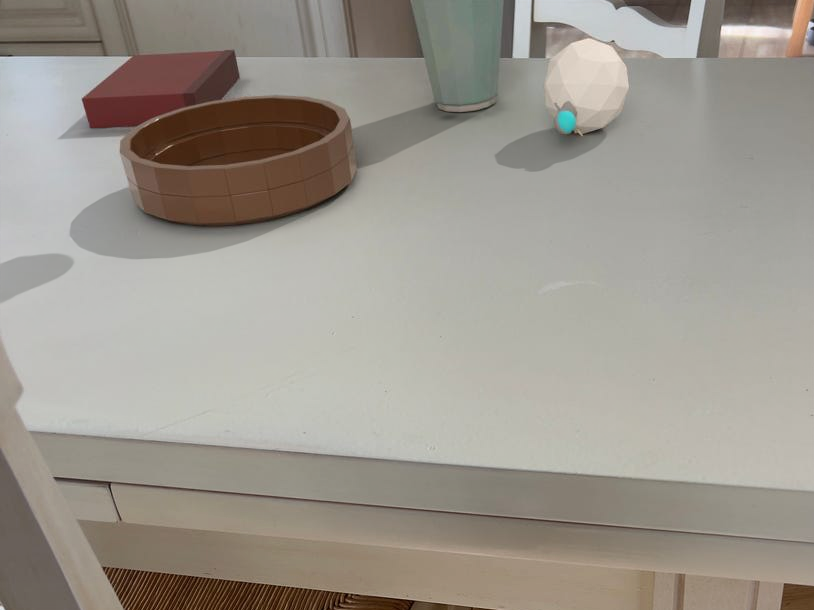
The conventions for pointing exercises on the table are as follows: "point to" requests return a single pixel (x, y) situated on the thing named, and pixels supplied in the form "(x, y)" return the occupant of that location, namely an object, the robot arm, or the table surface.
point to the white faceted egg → (585, 86)
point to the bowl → (239, 159)
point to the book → (159, 86)
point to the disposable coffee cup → (461, 50)
